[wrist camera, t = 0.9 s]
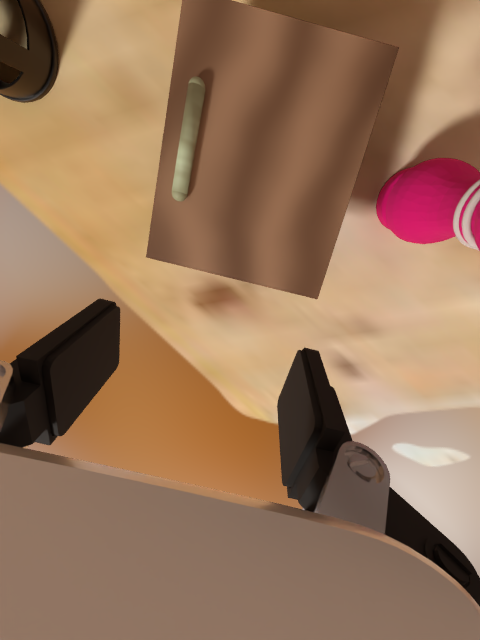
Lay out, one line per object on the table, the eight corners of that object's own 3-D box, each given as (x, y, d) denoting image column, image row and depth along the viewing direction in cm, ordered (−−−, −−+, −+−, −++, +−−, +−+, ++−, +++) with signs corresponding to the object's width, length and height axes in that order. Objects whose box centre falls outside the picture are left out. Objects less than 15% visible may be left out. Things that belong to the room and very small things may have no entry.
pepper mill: (378, 162, 27) (595, 122, 9) (453, 160, 27) (832, 114, 9) (365, 235, 31) (506, 307, 13) (431, 235, 30) (676, 310, 12)
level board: (387, 62, 20) (407, 36, 17) (313, 296, 24) (320, 301, 22) (189, 6, 19) (180, -29, 17) (152, 256, 24) (141, 257, 22)
